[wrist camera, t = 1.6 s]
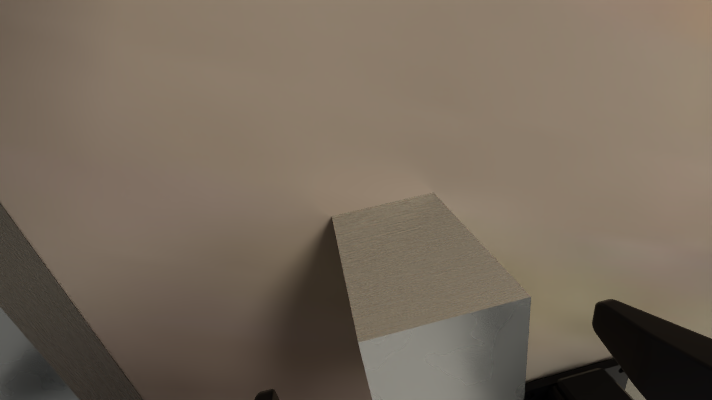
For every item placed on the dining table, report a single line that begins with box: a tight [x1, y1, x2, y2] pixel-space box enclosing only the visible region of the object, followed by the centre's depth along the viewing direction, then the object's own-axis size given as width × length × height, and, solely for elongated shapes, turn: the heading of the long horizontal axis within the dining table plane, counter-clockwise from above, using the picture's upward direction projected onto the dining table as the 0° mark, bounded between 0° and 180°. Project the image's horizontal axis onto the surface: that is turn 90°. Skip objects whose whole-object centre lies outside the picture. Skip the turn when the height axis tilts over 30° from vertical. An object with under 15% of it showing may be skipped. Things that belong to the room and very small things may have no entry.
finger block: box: [332, 193, 531, 400], centre depth 11 cm, size 5×4×6 cm
